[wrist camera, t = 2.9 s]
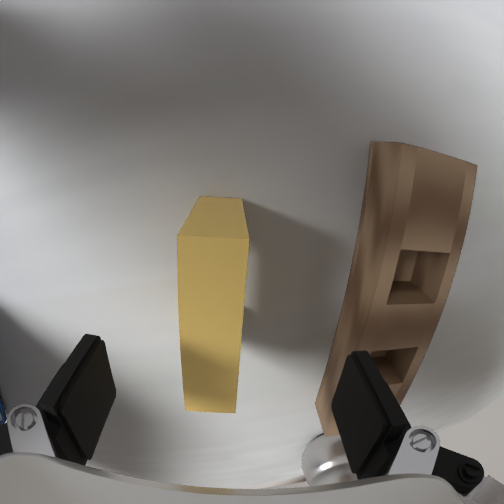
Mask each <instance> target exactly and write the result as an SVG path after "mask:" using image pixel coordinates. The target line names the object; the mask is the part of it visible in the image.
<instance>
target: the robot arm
mask: <svg viewBox="0 0 504 504" xmlns="http://www.w3.org/2000/svg"><path fill="white" fill-rule="evenodd" d="M115 397H116V388H115V384H114V381H113V377H112V373H111V368H110V364H109V360H108V356H107V351H106V346H105V342H104V341H103V340H101V338H100V337H99V336H96V335H90V334H85V335H84V336H83V338H82V339H81V340H80V342H79V343H78V345H77V346H76V347H75V349H74V350H73V352H72V353H71V355H70V356H69V358H68V359H67V361H66V362H65V363H64V364H63V365H62V366H61V368H60V369H59V371H58V372H57V374H56V375H55V377H54V378H53V380H52V382H51V383H50V385H49V386H48V388H47V389H46V391H45V392H44V394H43V396H42V397H41V399H40V400H39V402H38V404H37V405H36V407H35V406H33V405H30V404H20V405H18V406H15V407H14V408H13V409H11V411H10V412H9V414H8V416H7V423H5V424H1V425H0V504H504V485H503V484H501V483H500V482H498V481H497V480H495V479H494V478H492V477H491V476H490V475H488V476H487V477H485V476H484V470H483V467H482V465H481V464H480V463H479V462H478V461H477V460H475V459H472V458H470V457H467V456H464V455H461V454H459V453H456V452H453V451H451V450H448V449H446V448H443V447H441V446H440V440H439V436H438V435H437V433H436V432H435V431H433V430H432V429H430V428H428V427H425V426H415V427H411V426H410V424H409V422H408V420H407V418H406V416H405V414H404V413H403V411H402V409H401V407H400V405H399V403H398V402H397V400H396V398H395V396H394V394H393V393H392V391H391V389H390V387H389V385H388V384H387V382H386V381H384V379H383V377H382V375H381V374H380V372H379V370H378V368H377V366H376V365H375V363H374V361H373V359H372V358H371V356H370V354H369V353H368V351H366V350H364V351H352V353H351V355H348V356H347V357H346V360H345V364H344V367H343V370H342V373H341V376H340V379H339V382H338V385H337V388H336V391H335V394H334V396H333V399H332V402H331V409H332V412H333V416H334V419H335V422H336V425H337V428H338V431H339V434H340V437H341V440H342V444H343V447H344V450H345V453H346V456H347V459H348V463H349V466H350V469H351V472H352V473H353V474H356V476H357V479H358V480H355V481H348V482H341V483H334V484H326V485H317V486H307V487H295V488H278V489H226V488H208V487H196V486H186V485H178V484H170V483H163V482H156V481H150V480H145V479H139V478H134V477H129V476H125V475H120V474H116V473H112V472H108V471H103V470H99V469H96V468H92V467H88V466H85V465H86V462H87V459H88V460H90V459H91V458H92V456H93V453H94V451H95V448H96V445H97V442H98V440H99V437H100V435H101V432H102V429H103V427H104V424H105V422H106V419H107V417H108V414H109V412H110V409H111V407H112V404H113V402H114V399H115ZM74 462H75V463H74Z"/></svg>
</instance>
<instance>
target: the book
mask: <svg viewBox="0 0 504 504" xmlns="http://www.w3.org/2000/svg"><path fill="white" fill-rule="evenodd" d="M6 420H7V417H6V414H5V411H4V408H3V405H2V401H1V398H0V425H1V424H4V423H5V421H6Z"/></svg>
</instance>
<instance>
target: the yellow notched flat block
mask: <svg viewBox="0 0 504 504" xmlns="http://www.w3.org/2000/svg"><path fill="white" fill-rule="evenodd" d="M248 251H249V234H248V228H247V223H246V218H245V213H244V207H243V202H242V199H238V198H222V197H203V196H200V197H199V199H198V201H197V203H196V204H195V206H194V208H193V209H192V211H191V213H190V214H189V216H188V218H187V220H186V221H185V223H184V225H183V227H182V228H181V230H180V232H179V234H178V242H177V255H178V307H179V331H180V350H181V365H182V378H183V390H184V402H185V410H186V411H199V412H217V413H236V400H237V387H238V375H239V362H240V349H241V337H242V325H243V312H244V300H245V288H246V276H247V263H248Z"/></svg>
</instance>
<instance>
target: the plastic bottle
mask: <svg viewBox="0 0 504 504" xmlns="http://www.w3.org/2000/svg"><path fill="white" fill-rule="evenodd" d="M302 470H303V473H304V475H305V478H306V480H307V482H308V484H309V485H310V486H317V485H326V484H334V483H341V482H348V481H355V480H358V479H357V476H356V474H353V473H352V472H351V469H350V466H349V463H348V459H347V456H346V453H345V450H344V447H343V444H342V440H341V437H340V435H335V436H327V437H325V435H322V436H319V437H317V438H315V439H314V440H312V441H311V442H310V443H309V444H308V445H307V446H306V448H305V450H304V452H303V453H302Z"/></svg>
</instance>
